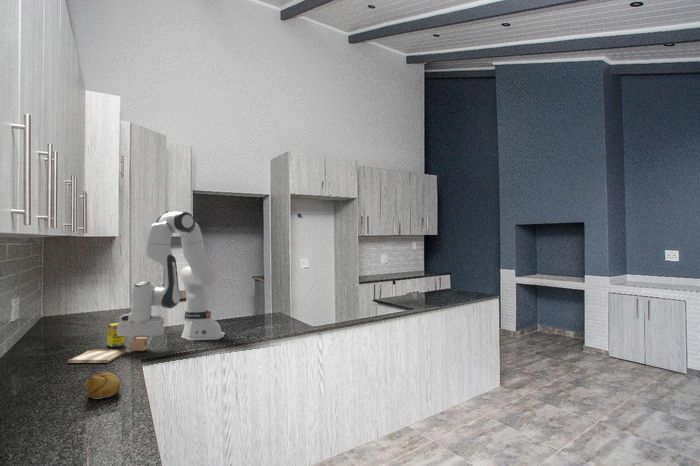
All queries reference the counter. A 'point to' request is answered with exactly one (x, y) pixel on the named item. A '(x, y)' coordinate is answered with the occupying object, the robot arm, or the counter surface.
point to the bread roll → (102, 385)
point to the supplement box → (114, 336)
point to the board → (97, 356)
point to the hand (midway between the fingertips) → (140, 345)
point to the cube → (139, 344)
